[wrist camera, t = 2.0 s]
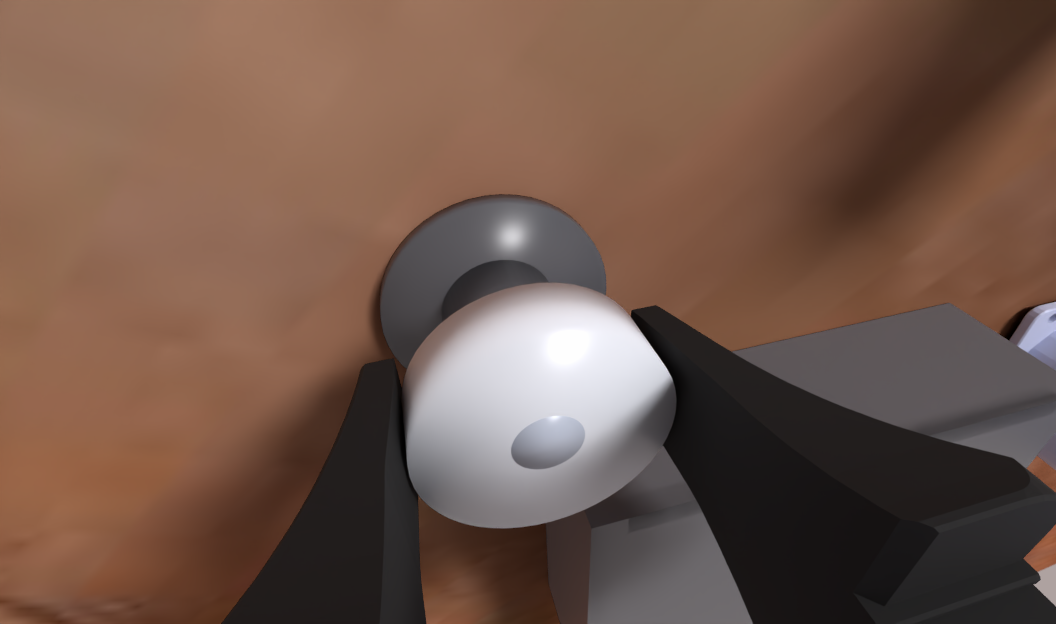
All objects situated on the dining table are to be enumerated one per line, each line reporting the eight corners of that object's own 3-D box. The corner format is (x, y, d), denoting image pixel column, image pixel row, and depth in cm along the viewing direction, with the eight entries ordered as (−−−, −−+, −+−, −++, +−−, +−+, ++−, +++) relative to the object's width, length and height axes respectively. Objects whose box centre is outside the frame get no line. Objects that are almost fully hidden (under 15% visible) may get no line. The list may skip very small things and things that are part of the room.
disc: (653, 260, 11) (694, 306, 9) (633, 439, 14) (662, 492, 12) (375, 312, 10) (378, 371, 8) (424, 491, 13) (431, 554, 12)
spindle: (603, 177, 13) (668, 244, 10) (596, 359, 17) (643, 444, 14) (354, 215, 12) (354, 301, 9) (403, 401, 16) (413, 501, 13)
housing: (847, 497, 27) (932, 596, 23) (548, 584, 24) (586, 714, 20) (949, 303, 20) (1100, 398, 16) (539, 395, 17) (595, 539, 13)
